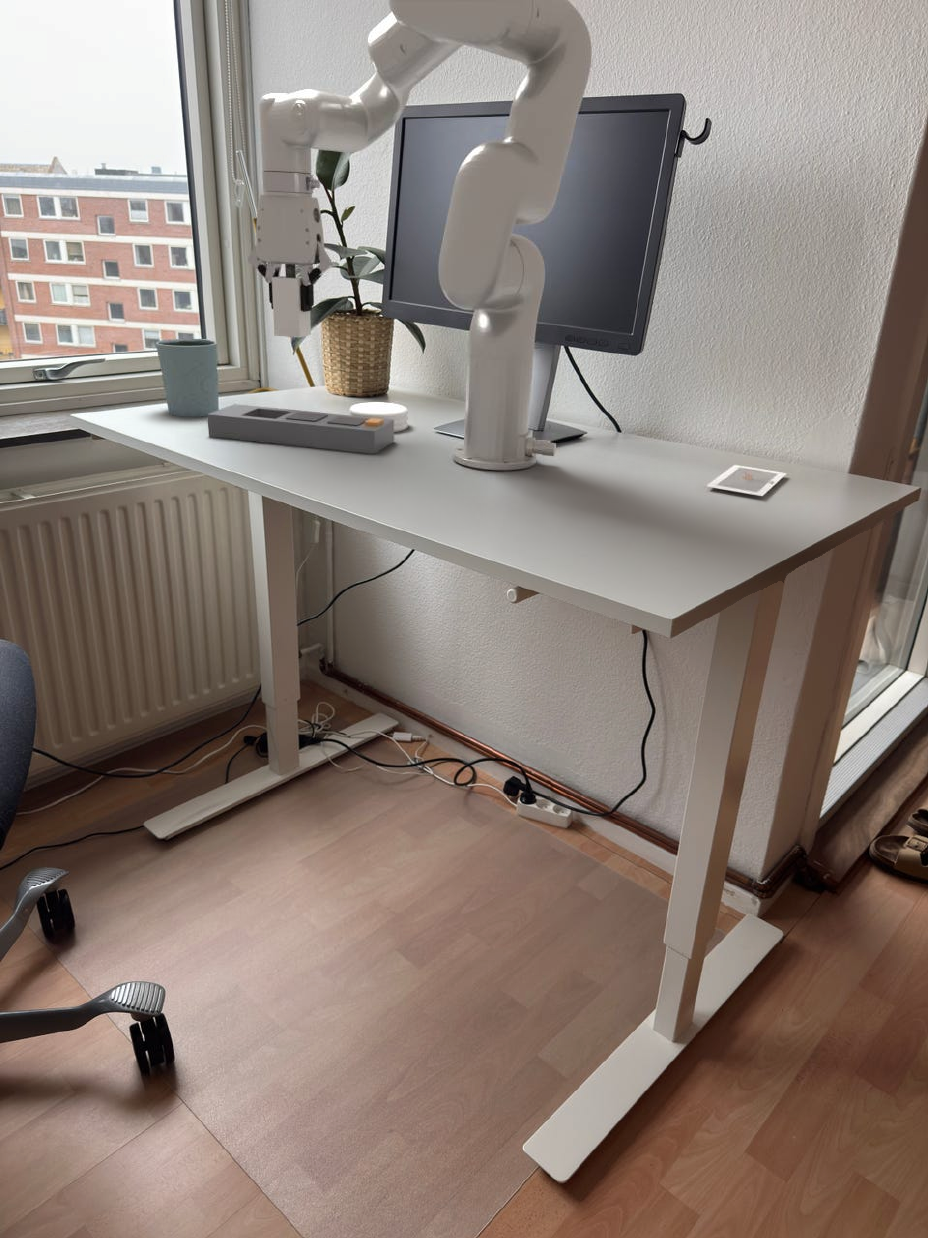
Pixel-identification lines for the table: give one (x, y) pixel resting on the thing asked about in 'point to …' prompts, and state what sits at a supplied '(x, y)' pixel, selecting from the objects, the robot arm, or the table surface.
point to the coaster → (382, 413)
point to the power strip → (302, 428)
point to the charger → (289, 306)
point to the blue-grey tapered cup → (189, 376)
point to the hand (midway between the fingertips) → (291, 308)
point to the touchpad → (747, 480)
